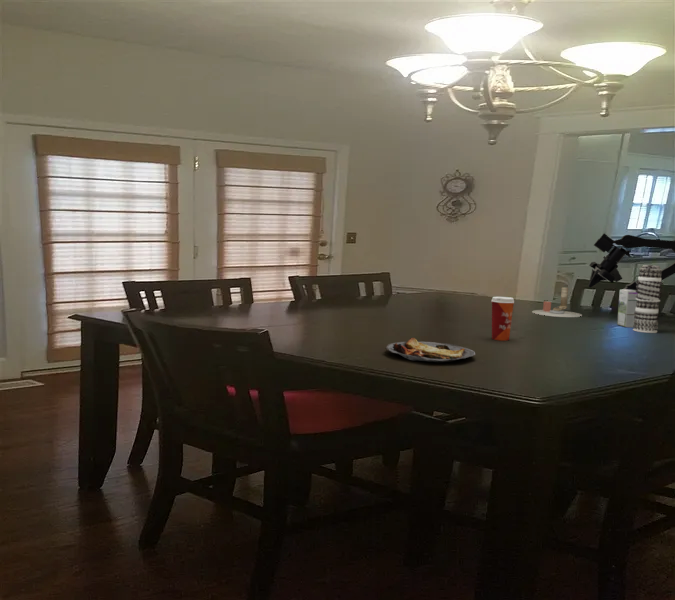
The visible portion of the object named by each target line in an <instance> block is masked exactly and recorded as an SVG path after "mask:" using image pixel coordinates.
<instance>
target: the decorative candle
mask: <svg viewBox="0 0 675 600" xmlns="http://www.w3.org/2000/svg"><path fill="white" fill-rule="evenodd" d="M662 270H663V269H662V268H661V267H660V265H658V264H657V265H656V264H643V265H642V266H640V267H639V272H638V277H637V278H638V279H637V280H635V282H636V283H638V285H637V286H636V288H637V290H636V292H637V293H638V294H637V295H636V300H637V304H636V309H635V311H636V312H634V314H636V315H635V316H634V318H636V319H635V320H634V321H633V322H634V323H635V324H634V325H633V327H632V328H633V329H632V331H635V332H638V333H645V334H647V333H648V334H656V333H658V328H659V326H658V325H659V322H658V321H659V317H658V316H660V313H659V303H660V302H661V298H662V296H661V294H662V291H660V290H662V289H663V287H662V286H663V284H664V283H663V282H662V281H661V272H662Z"/></svg>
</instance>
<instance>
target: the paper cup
mask: <svg viewBox="0 0 675 600" xmlns="http://www.w3.org/2000/svg"><path fill="white" fill-rule="evenodd" d="M514 299H515V298H513V297H510V296H509V297H508V296H493V297H492V299H491V300H490V301H491V339H492V340H494V341H503V342H505V341H509V340H510V337H511V328H512V320H513V319H512V318H513V311H514V304H515V300H514Z"/></svg>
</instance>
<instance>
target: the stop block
mask: <svg viewBox="0 0 675 600" xmlns="http://www.w3.org/2000/svg"><path fill="white" fill-rule="evenodd" d="M551 308H552V302H551V301H546V300H545V301H544V300H543V307H542V310H543V311H550V310H552V309H551Z"/></svg>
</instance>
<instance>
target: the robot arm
mask: <svg viewBox="0 0 675 600" xmlns="http://www.w3.org/2000/svg"><path fill="white" fill-rule="evenodd" d="M593 246H594V247H595V248H597V249H598V250H600V251H601V252H603V253H608V254H607V255H606V256H603V257H602V258H603V260H602V261H601V262H600V263H597V262H596V261H592V262H590V264H589V265H588V266H589V267H591V268H592V269H591V273H590V277H589V282H588V285H587V286H588V287H589V289H590V288H592V287H594V286H595V285H597V284H598V283H600V282H602V281H604V282H605V281H609V282H610V283H611V284H612V283H614V282H615V283H618V282H619V281H621V280H622V279H623V277H622V275H621V273H620V272H619V270H618V267H619V265H618V264H619V263H620V262H621V260H622V259H623V258H624V257H625V256H627V257H631V254H630V253H631V250H626V249H634V248H651V249H653V248H654V249H666V250H672V252H674V254H675V240H674V239H673V240H666V239H656V238H655V239H654V238H643V237H639V236H635V235H633V234H632V235H631V234H626V235H623V236H622V237H621V238H619V239H615V240H614V239H612V238H611V237H610V236H609V235H608V234H606V233H603V234H602V235H601V236H600V237H599V238H598V239H597V240H596V242H595V243H593ZM618 246H621V247H618ZM625 248H626V249H625ZM661 270H662V272H661V282H662V281H664V280H666V279H667V278H669V277H670V276H672V275H675V261H674V262H673V263H671V264H670V265H668V266H667V267H665V268H663V269H661ZM637 285H638V283H636V280H632V282H630V283H628V284H625V287H624V288H623V289H631V290H637V288H636V286H637Z"/></svg>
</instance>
